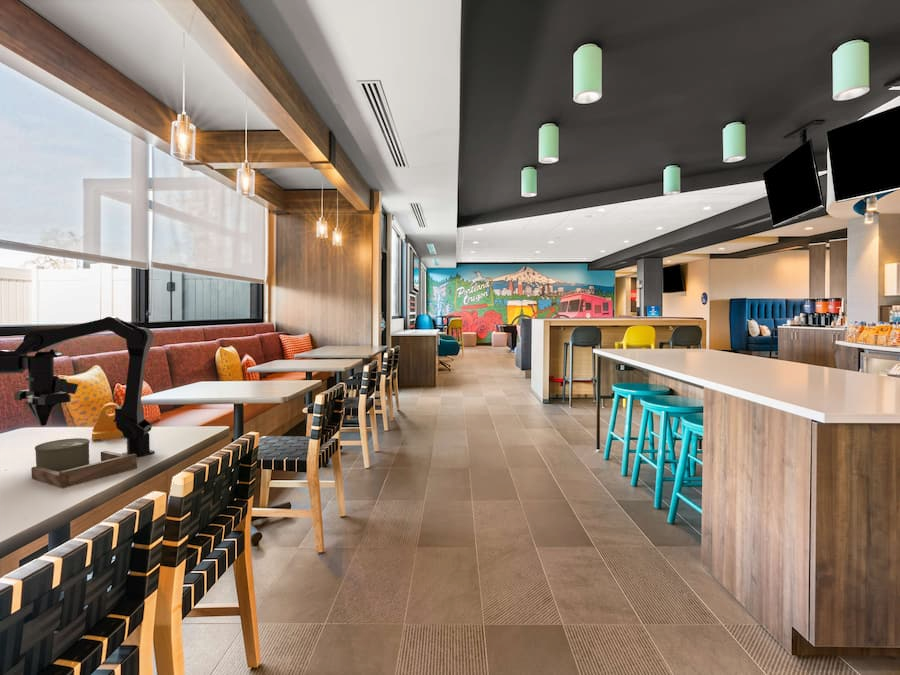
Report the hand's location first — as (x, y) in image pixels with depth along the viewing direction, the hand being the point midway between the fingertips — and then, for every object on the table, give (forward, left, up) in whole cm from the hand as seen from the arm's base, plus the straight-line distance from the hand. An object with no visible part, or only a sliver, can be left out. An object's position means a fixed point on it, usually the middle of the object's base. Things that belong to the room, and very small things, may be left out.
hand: (43, 425), depth 137 cm
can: (-11, 0, -11) cm, 16 cm away
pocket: (-22, 0, -11) cm, 24 cm away
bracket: (+13, -25, -11) cm, 30 cm away
